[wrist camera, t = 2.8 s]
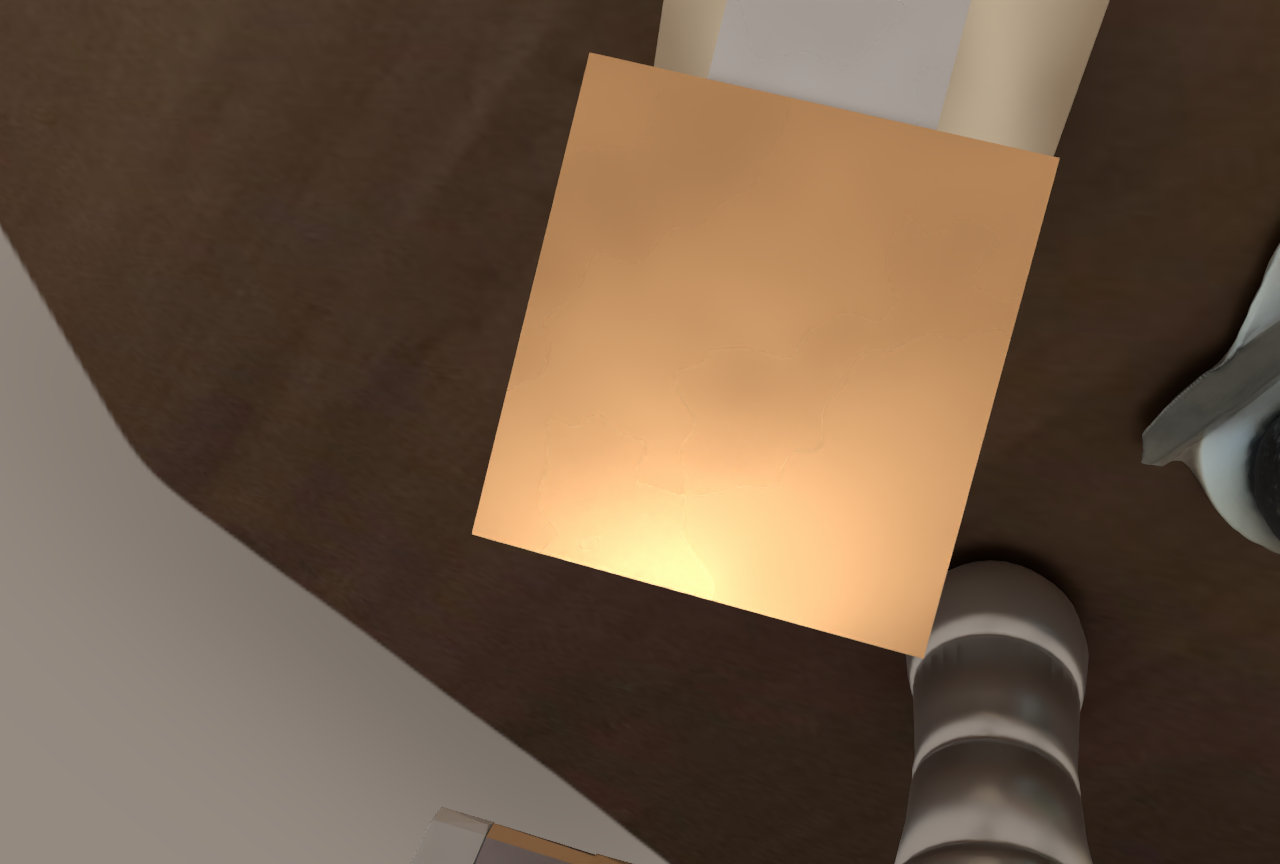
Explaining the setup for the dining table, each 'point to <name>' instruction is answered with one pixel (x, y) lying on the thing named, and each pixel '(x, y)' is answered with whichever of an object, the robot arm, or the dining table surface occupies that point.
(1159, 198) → the dining table surface
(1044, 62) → the press base
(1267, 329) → the salad plate
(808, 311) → the press lever
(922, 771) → the plastic bottle
